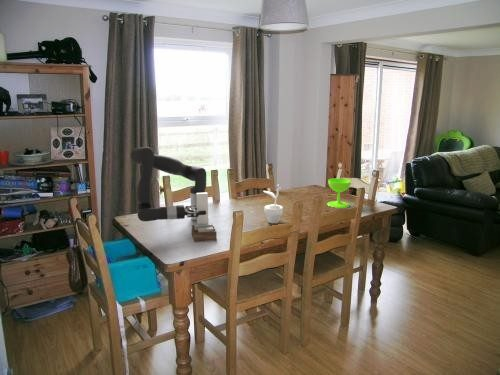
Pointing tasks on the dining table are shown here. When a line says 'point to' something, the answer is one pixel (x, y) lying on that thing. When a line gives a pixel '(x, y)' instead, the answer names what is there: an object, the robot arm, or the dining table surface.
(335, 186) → the wineglass
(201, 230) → the offcut stack
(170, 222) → the dining table surface
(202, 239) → the offcut rack
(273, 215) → the potted plant
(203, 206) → the tall board
